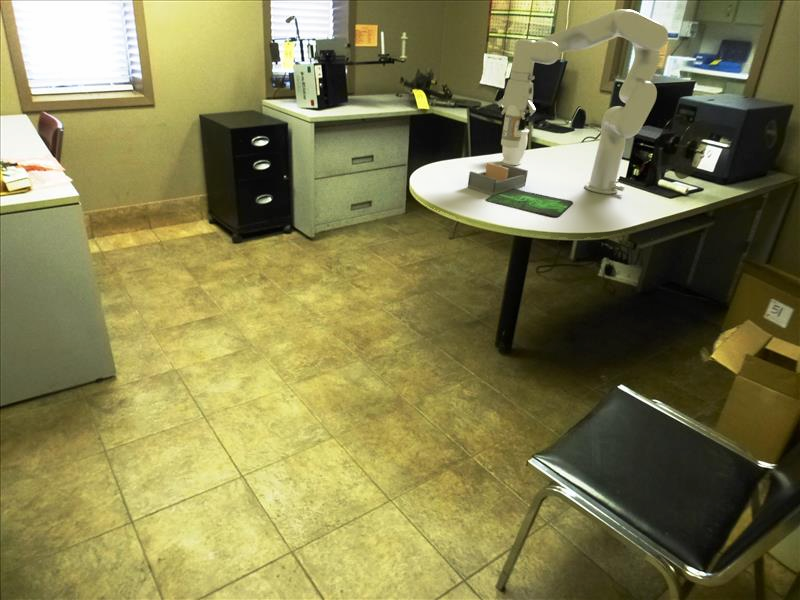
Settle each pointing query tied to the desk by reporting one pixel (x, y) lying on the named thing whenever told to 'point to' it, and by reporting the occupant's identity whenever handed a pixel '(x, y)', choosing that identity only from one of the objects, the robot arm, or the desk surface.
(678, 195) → the desk surface
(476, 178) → the grey open box
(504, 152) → the jar
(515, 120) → the bath foam
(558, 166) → the desk surface
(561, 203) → the mouse mat
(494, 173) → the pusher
